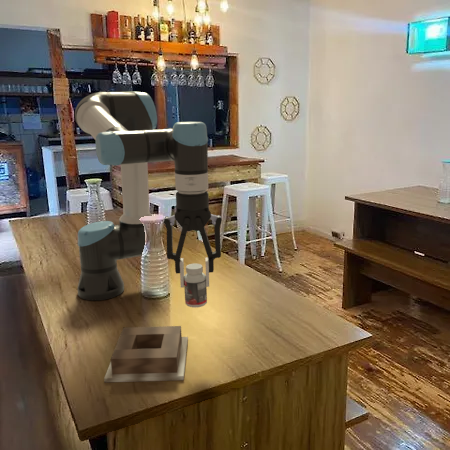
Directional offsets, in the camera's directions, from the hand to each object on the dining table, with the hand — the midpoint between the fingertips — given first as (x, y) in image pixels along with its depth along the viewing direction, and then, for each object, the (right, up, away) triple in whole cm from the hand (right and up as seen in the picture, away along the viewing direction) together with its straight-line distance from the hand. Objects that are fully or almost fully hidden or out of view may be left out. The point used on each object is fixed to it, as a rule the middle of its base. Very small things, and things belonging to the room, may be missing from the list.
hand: (195, 284), depth 110 cm
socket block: (-11, -19, +2) cm, 22 cm away
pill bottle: (0, -5, +1) cm, 5 cm away
